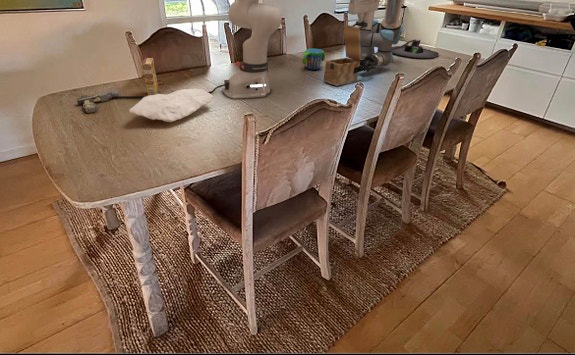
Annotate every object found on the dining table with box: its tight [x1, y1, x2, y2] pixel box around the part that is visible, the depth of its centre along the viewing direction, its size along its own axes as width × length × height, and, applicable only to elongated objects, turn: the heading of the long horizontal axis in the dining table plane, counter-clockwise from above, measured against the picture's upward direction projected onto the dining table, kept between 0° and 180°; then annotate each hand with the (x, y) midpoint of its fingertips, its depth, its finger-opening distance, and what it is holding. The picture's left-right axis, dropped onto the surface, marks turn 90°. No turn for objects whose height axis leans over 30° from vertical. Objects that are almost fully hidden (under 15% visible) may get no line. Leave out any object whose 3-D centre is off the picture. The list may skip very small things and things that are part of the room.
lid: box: [343, 20, 368, 61], centre depth 188 cm, size 17×9×10 cm
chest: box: [322, 57, 360, 87], centre depth 190 cm, size 17×9×10 cm, turn 133°
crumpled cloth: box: [129, 88, 214, 123], centre depth 147 cm, size 24×35×9 cm
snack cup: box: [302, 48, 326, 71], centre depth 209 cm, size 16×10×10 cm
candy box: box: [141, 57, 160, 96], centre depth 163 cm, size 9×4×15 cm, turn 13°
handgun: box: [76, 89, 120, 114], centre depth 155 cm, size 3×18×15 cm
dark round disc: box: [391, 38, 439, 59], centre depth 252 cm, size 35×35×9 cm
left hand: (361, 22), depth 184 cm, fingers closed, pressing on lid
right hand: (347, 68), depth 192 cm, fingers closed on chest, 9 cm apart
